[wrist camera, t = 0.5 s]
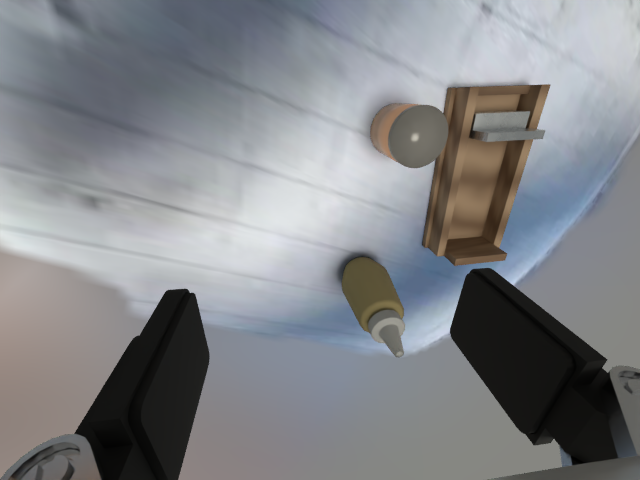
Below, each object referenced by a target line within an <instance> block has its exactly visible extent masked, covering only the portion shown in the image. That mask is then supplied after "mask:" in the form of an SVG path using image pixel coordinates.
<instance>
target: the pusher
mask: <svg viewBox="0 0 640 480" xmlns="http://www.w3.org/2000/svg"><path fill="white" fill-rule="evenodd" d="M529 115H530V111H517V110H514V111H490V112H474V116H473V120H472V125H471V130H470V135H469V138H471V139H476V140H480V141H485V142H494V141H512V140H530V139H543V136H544V133H545V130H539V129H531V128H526V125H527V121H528V118H529Z"/></svg>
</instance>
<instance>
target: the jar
mask: <svg viewBox="0 0 640 480" xmlns="http://www.w3.org/2000/svg"><path fill="white" fill-rule="evenodd" d="M370 137H371V141H372V144H373V146H374V147H375V148H376V150H378V151H379V152H380V153H382V154H384V155H386V156H387V157H389V158H391V159H393V160H395V161H396V162H398V163H400V164H402V165H404V166H406V167H409V168H420V167H423V166H426V165H428V164H430V163H431V162H432V161H434V160H435V159H436V158H437V157H438V156H439V155H440V153H441V152H442V150H443V149H444V147H445V145H446V142H447V138H448V123H447V120H446V118H445V116H444V114H443V113H442V112H441V111H440V110H439V109H437V108H436V107H433V106H430V105H418V104H402V103H394V104H390V105H387V106H385V107H384V108H382V109H381V110H380V111H379V112H378V113H377V114H376V116H375V118H374V119H373V122H372V124H371V129H370Z"/></svg>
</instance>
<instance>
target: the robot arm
mask: <svg viewBox="0 0 640 480" xmlns="http://www.w3.org/2000/svg"><path fill="white" fill-rule="evenodd" d="M450 334H451V337H452V339H453V341H454V342H455V343H456V345H457V346H458V347H459V349H460V350H461V352H462V353H463V354H464V356H465V357H466V358H467V360H468V361H469V363H470V364H471V365H472V367H473V368H474V369H475V371H476V372H477V373H478V375H479V376H480V378H481V379H482V380H483V382H484V383H485V385H486V386H487V387H488V388H489V390H490V391H491V393H492V394H493V395H494V397H495V398H496V400H497V401H498V402H499V404H500V405H501V406H502V408H503V409H504V410H505V412H506V413H507V414H508V416H509V417H510V419H511V420H512V421H513V423H514V424H515V426H516V427H517V428H518V429H519V430H520V431H521V432H522V433H524V434H526V435H527V437H528V438H529V439H530V441H531V442H532V443H533V445H540V444H546V443H551V442H552V440H553V439H555V440H556V442H557V443H558V444H559V445H560V454H561V462H562V467H560V468H555V469H548V470H542V471H537V472H530V473H524V474H518V475H512V476H506V477H500V478H494V479H488V480H640V369H637V368H633V367H629V366H616V367H612V369H611V370H610V371H609V373H607V372H606V371H605V370H604V369H602V367H603V365H604V364H605V363H606V361H607V359H606V358H605V357H603V356H602V355H601V354H599V353H598V352H597V351H596V350H594V349H593V348H592V347H591V346H589V345H588V344H587V343H586V342H584V341H583V340H582V339H580V338H579V337H578V336H576V335H575V334H574V333H573V332H571V331H570V330H569V329H568V328H566V327H565V326H564V325H563V324H561V323H560V322H559V321H558V320H556V319H555V318H554V317H552V316H551V315H550V314H549V313H547V312H546V311H545V310H544V309H542V308H541V307H540V306H538V305H537V304H536V303H535V302H533V301H532V300H531V299H529V298H528V297H527V296H526V295H524V294H523V293H522V292H521V291H519V290H518V289H517V288H516V287H514V286H513V285H512V284H510V283H509V282H508V281H507V280H505V279H504V278H503V277H502V276H500V275H499V274H498V273H496V272H495V271H494V270H492V269H491V268H482V269H473V270H471V271H470V273H469V274H467V275H466V278H465V281H464V284H463V288H462V291H461V294H460V298H459V301H458V305H457V308H456V311H455V315H454V318H453V321H452V325H451V328H450ZM208 365H209V350H208V346H207V341H206V338H205V334H204V329H203V325H202V320H201V316H200V312H199V308H198V304H197V299H196V296H195V294H194V293H189V291H188V289H176V290H167V291H166V292H165V294H164V295H163V297H162V299H161V300H160V302H159V304H158V305H157V307H156V309H155V310H154V312H153V314H152V315H151V317H150V319H149V321H148V322H147V324H146V326H145V327H144V329H143V331H142V332H141V334H140V336H136V337H135V338H134V339H133V340H132V341H131V343H130V344H129V346H128V347H127V349H126V350H125V352H124V354H123V355H122V357H121V359H120V360H119V362H118V363H117V365H116V367H115V368H114V370H113V372H112V373H111V375H110V376H109V378H108V380H107V381H106V383H105V385H104V386H103V388H102V390H101V391H100V393H99V394H98V396H97V398H96V399H95V401H94V403H93V404H92V406H91V407H90V409H89V411H88V413H87V414H86V416H85V417H84V419H83V420H82V422H81V424H80V425H79V427H78V429H77V430H76V432H75V434H67V435H62V436H59V437H56V438H52V439H50V440H48V441H46V442H44V443H42V444H40V445H38V446H37V447H35V448H34V449H33V450H31V451H29V452H28V453H27V454H25V455H24V456H23V457H21V458H20V459H19V460H18V461H17V462H16V463H15V464H14V465H13V466H11V467H10V468H9V469H8V470H7V471H6V472H5V474H4V475H3V476H2V477H1V479H0V480H178V478H179V474H180V471H181V467H182V463H183V459H184V456H185V452H186V448H187V444H188V440H189V437H190V433H191V429H192V425H193V422H194V418H195V414H196V410H197V406H198V403H199V399H200V395H201V391H202V388H203V384H204V380H205V376H206V373H207V368H208Z"/></svg>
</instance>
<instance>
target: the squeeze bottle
mask: <svg viewBox="0 0 640 480" xmlns="http://www.w3.org/2000/svg"><path fill="white" fill-rule="evenodd" d="M342 290H343V293H344V295H345V297H346V299H347V301H348V303H349V305H350V306H351V308H352V310H353V312H354V314H355V316H356V318H357V320H358V322H359V324H360V326H361V327H362V328H363V330H365V331H367V332H369V333H370V334H371V336H372V338H373V339H374V340H375V341H377V342H379V343H385V344H386V345H387V346H388V348H389V349H390V350H391V352H392V353H393V354H394V355H395V357H401V356H402V355H403V354H404V351H403V346H402V342H401V337H400V336H401V335H402V334H403V332H404V330H405V324H404V322H403V320H402V318H403V316H404V308H403V306H402V304H401V302H400V299H399V297H398V295H397V292H396V290H395V288H394V285H393V283H392V281H391V278H390V276H389V274H388V272H387V270H386V269H385V267H383V266H382V265H380V264H378V263H377V262H375V261H373V260H371V259H370V258H367V257H358V258H355V259H353V260H351V261H350V262H349V263H348V264H347V265H346V267H345V270H344V273H343V279H342Z"/></svg>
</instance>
